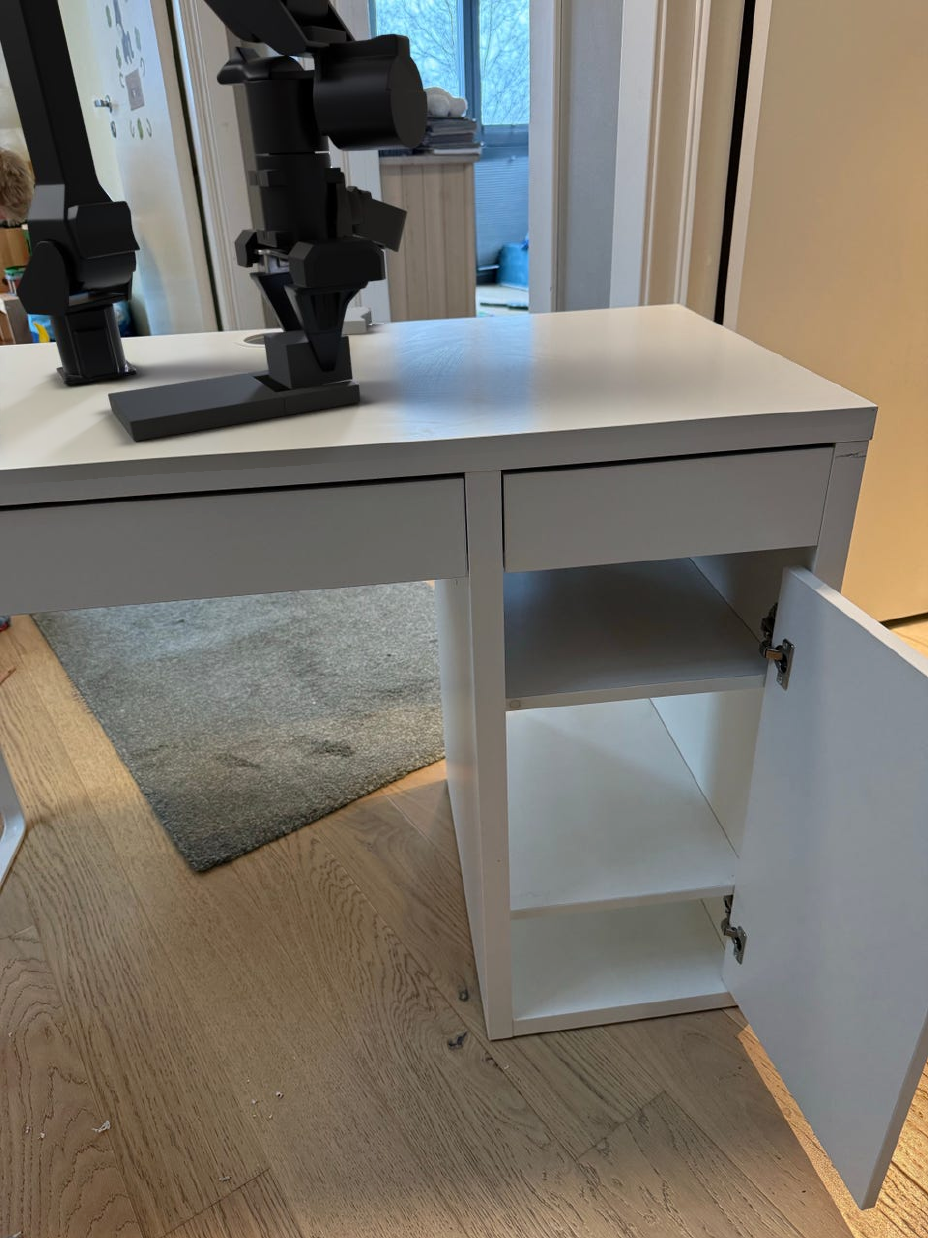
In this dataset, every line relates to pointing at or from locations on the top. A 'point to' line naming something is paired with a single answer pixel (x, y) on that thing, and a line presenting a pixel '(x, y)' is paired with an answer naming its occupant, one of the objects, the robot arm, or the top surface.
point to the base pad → (220, 403)
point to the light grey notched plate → (357, 320)
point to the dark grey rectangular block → (303, 361)
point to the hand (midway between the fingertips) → (316, 364)
